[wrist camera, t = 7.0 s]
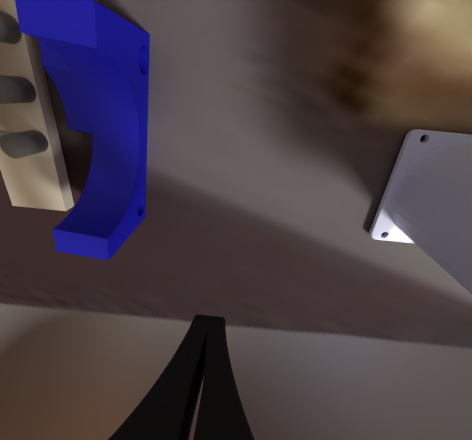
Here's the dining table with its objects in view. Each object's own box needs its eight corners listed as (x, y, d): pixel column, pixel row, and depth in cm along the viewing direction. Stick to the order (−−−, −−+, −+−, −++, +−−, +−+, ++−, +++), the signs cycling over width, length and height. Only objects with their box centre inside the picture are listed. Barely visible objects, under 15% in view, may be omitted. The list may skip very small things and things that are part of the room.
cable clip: (73, 18, 14) (-31, -27, 9) (150, 35, 15) (94, 0, 9) (89, 205, 20) (30, 246, 14) (145, 215, 20) (108, 260, 15)
